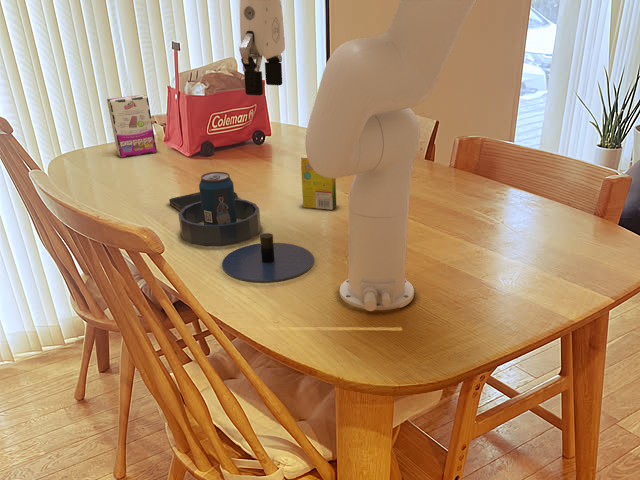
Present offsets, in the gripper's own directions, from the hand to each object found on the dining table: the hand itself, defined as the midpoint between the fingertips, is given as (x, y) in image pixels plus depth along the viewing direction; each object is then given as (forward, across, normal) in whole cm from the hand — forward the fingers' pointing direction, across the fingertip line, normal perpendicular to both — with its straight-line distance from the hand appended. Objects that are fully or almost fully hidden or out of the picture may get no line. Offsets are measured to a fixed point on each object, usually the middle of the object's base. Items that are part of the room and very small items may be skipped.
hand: (264, 89), depth 117 cm
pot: (+29, -2, +11) cm, 31 cm away
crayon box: (+29, +19, -4) cm, 35 cm away
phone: (+30, +15, +24) cm, 41 cm away
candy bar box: (+31, +50, +64) cm, 87 cm away
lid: (+28, -14, -5) cm, 32 cm away
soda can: (+29, -2, +11) cm, 31 cm away
